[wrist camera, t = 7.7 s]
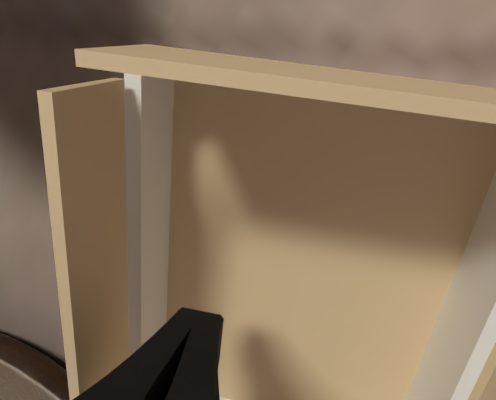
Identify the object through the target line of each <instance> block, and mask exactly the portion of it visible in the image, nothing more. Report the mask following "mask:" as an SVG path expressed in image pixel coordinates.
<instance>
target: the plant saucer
mask: <svg viewBox="0 0 496 400" xmlns="http://www.w3.org/2000/svg"><path fill="white" fill-rule="evenodd" d="M0 400H70V398H69V388H68V379H67V370H65V369H64V368H63V367H62V366H60V365H59V364H58V363H56V362H55V361H53V360H52V359H50V358H49V357H48V356H46V355H45V354H43V353H41V352H40V351H38V350H36V349H34V348H33V347H31V346H29V345H27V344H25V343H23V342H21V341H19V340H17V339H14V338H12V337H10V336H8V335H5V334H2V333H0Z"/></svg>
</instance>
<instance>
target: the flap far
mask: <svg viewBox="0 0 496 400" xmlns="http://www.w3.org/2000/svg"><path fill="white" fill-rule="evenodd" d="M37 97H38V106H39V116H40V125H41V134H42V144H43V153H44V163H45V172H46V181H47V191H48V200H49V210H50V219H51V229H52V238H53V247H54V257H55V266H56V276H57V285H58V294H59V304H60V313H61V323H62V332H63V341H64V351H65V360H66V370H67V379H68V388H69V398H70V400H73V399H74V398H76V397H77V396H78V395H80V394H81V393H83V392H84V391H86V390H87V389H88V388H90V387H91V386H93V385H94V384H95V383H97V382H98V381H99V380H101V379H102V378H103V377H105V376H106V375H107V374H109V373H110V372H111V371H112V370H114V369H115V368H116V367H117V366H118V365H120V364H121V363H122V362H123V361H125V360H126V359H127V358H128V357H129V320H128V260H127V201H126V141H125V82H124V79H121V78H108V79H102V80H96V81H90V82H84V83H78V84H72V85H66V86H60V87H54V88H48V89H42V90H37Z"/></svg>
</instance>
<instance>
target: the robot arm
mask: <svg viewBox="0 0 496 400" xmlns="http://www.w3.org/2000/svg"><path fill="white" fill-rule="evenodd" d="M223 322H224V318H223V317H222V316H221V315H220V314H215V313H210V312H205V311H200V310H195V309H190V308H185V307H182V308H180V309H179V310H178V311H177V312H176V313H175V314H174V315H173V316H172V317H171V318H170V319H169V320H168V321H167V322H166V323H165V324H164V325H163V326H162V327H161V328H160V329H159V330H158V331H157V332H156V333H155V334H154V335H153V336H152V337H151V338H150V339H148V340H147V341H146V342H145V343H144V344H143V345H142V346H141V347H140V348H139V349H137V350H136V351H135V352H134V353H133V354H132V355H131V356H129V357H128V358H127V359H126V360H125V361H123V362H122V363H121V364H120V365H118V366H117V367H116V368H115V369H114V370H112V371H111V372H110V373H109V374H107V375H106V376H105V377H103V378H102V379H101V380H99V381H98V382H97V383H95V384H94V385H93V386H91V387H90V388H88V389H87V390H86V391H84V392H83V393H81V394H80V395H78V396H77V397H76V398H74V399H73V400H220V396H219V383H218V365H219V359H220V350H221V340H222V331H223Z"/></svg>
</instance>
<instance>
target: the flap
mask: <svg viewBox="0 0 496 400" xmlns="http://www.w3.org/2000/svg"><path fill="white" fill-rule="evenodd" d="M75 61H76V67H83V68H91V69H98V70H105V71H113V72H120V73H127V74H134V75H142V76H149V77H156V78H164V79H171V80H178V81H186V82H193V83H200V84H207V85H215V86H222V87H229V88H237V89H244V90H251V91H259V92H266V93H273V94H280V95H288V96H295V97H302V98H310V99H317V100H324V101H332V102H339V103H346V104H353V105H361V106H368V107H375V108H383V109H390V110H397V111H405V112H412V113H419V114H426V115H434V116H441V117H448V118H456V119H463V120H470V121H478V122H485V123H492V124H496V88H488V87H480V86H472V85H465V84H457V83H449V82H441V81H433V80H425V79H418V78H410V77H402V76H394V75H386V74H378V73H370V72H363V71H355V70H347V69H339V68H331V67H323V66H315V65H308V64H300V63H292V62H284V61H276V60H268V59H261V58H253V57H245V56H237V55H229V54H221V53H213V52H206V51H198V50H190V49H182V48H174V47H166V46H159V45H151V44H141V45H126V46H111V47H95V48H80V49H75Z"/></svg>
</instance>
